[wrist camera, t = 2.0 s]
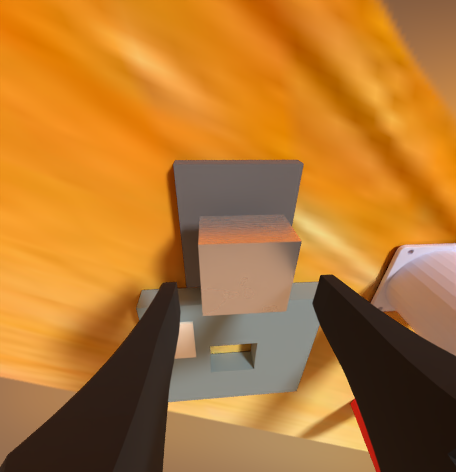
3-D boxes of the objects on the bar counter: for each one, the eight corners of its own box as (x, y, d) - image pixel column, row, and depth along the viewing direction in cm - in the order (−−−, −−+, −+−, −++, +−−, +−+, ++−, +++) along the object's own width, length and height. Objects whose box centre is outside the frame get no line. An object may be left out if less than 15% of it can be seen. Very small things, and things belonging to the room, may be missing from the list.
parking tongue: (297, 160, 15) (303, 163, 14) (278, 275, 20) (281, 283, 19) (175, 160, 14) (173, 164, 13) (187, 279, 19) (186, 287, 19)
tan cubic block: (274, 201, 15) (301, 241, 11) (267, 260, 18) (286, 311, 14) (200, 202, 15) (198, 244, 11) (203, 263, 17) (202, 315, 13)
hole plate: (318, 281, 21) (330, 299, 19) (291, 374, 29) (297, 392, 27) (142, 290, 20) (135, 310, 18) (165, 384, 28) (162, 404, 26)
